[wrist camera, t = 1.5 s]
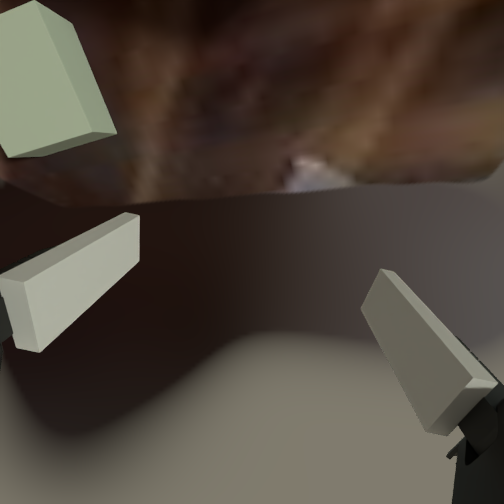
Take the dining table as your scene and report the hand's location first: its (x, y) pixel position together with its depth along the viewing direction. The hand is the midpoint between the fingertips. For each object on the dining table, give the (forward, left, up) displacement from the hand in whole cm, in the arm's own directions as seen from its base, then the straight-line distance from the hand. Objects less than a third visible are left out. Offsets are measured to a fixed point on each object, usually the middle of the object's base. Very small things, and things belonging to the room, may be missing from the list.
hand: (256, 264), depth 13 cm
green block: (-18, -24, -23) cm, 38 cm away
